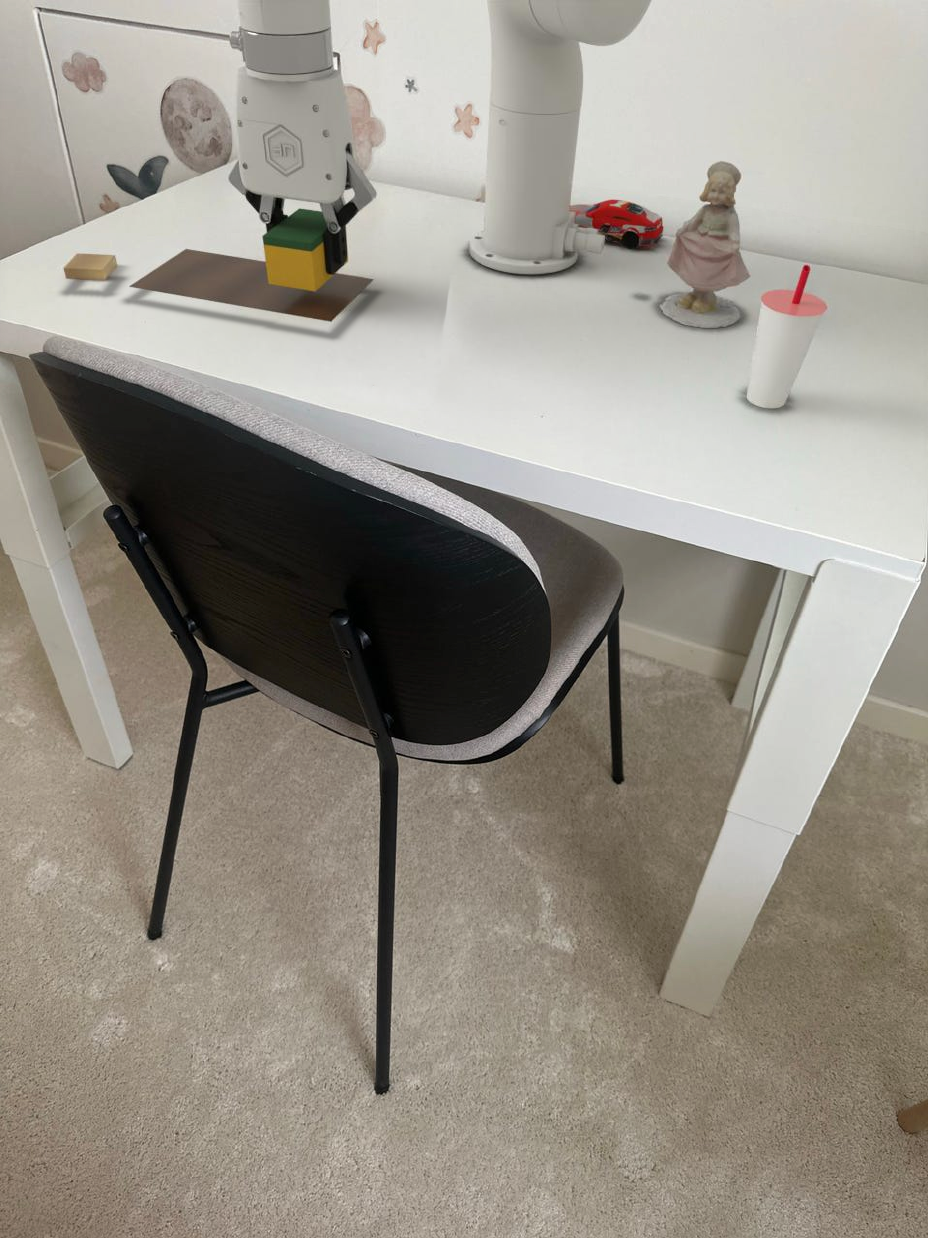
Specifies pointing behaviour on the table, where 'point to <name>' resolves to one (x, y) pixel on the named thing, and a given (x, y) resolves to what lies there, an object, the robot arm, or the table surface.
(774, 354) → the cup
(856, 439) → the table surface
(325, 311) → the board
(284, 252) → the sponge
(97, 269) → the wooden block
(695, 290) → the figurine
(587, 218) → the race car
